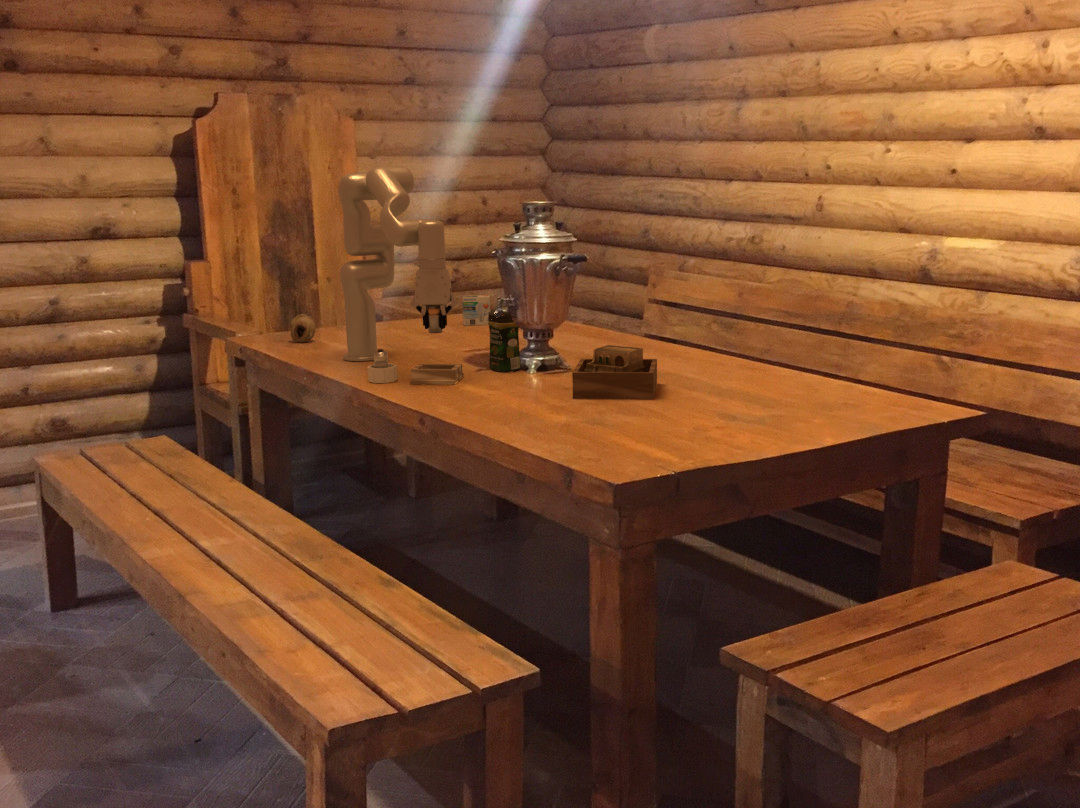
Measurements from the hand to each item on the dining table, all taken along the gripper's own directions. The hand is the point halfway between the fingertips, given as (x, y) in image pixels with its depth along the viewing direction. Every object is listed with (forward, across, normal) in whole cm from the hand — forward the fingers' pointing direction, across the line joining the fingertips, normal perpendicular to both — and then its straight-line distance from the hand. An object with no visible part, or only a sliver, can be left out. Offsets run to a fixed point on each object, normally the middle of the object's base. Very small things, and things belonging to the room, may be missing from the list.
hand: (435, 327), depth 332 cm
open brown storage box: (+16, +53, -12) cm, 57 cm away
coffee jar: (+16, +17, +17) cm, 29 cm away
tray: (+15, 0, 0) cm, 15 cm away
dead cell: (+15, -16, -1) cm, 22 cm away
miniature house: (+16, +52, -11) cm, 55 cm away
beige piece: (+15, -16, -1) cm, 22 cm away
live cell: (+1, 0, 0) cm, 1 cm away
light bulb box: (+15, -10, +108) cm, 109 cm away
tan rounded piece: (+15, -64, +66) cm, 93 cm away
